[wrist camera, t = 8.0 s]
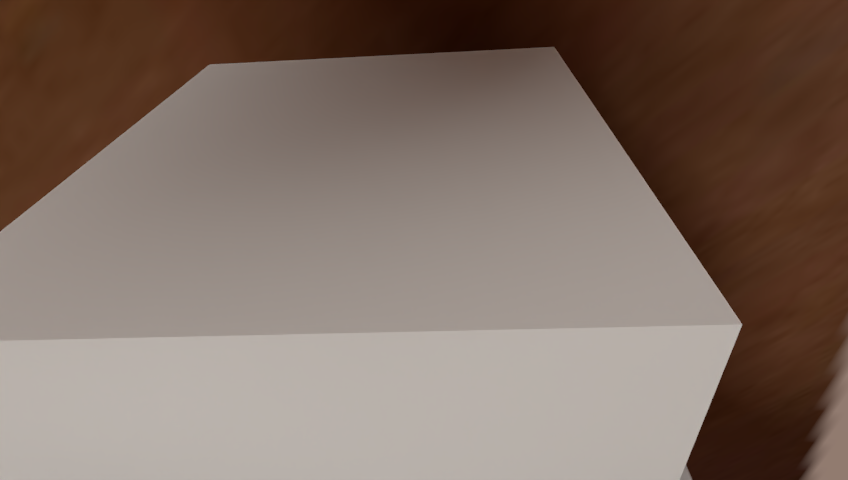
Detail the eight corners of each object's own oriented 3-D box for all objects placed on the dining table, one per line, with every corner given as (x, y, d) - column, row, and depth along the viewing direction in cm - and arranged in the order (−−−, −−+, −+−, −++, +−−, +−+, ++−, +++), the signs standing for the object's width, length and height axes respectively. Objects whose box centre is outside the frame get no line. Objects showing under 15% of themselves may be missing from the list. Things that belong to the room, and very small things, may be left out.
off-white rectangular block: (209, 64, 11) (-141, 343, 4) (553, 46, 10) (742, 324, 4) (308, 405, 17) (227, 726, 10) (524, 402, 17) (577, 733, 10)
